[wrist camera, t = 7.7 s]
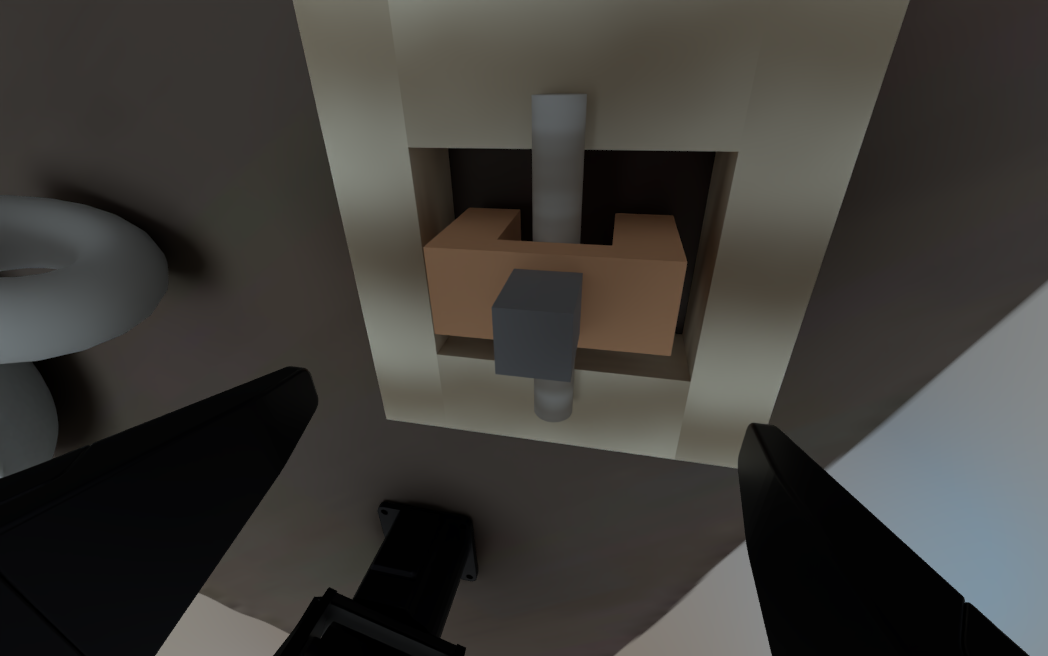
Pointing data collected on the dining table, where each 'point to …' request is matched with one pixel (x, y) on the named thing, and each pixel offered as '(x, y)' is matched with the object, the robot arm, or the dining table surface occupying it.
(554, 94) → the grey square tray
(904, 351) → the dining table surface
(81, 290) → the donut
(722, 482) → the dining table surface
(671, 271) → the brown u-shaped block
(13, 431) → the serving bowl
